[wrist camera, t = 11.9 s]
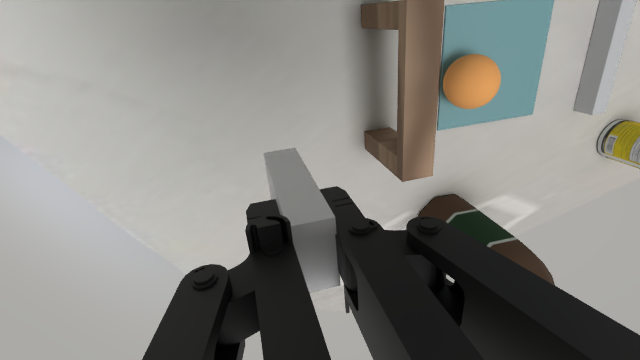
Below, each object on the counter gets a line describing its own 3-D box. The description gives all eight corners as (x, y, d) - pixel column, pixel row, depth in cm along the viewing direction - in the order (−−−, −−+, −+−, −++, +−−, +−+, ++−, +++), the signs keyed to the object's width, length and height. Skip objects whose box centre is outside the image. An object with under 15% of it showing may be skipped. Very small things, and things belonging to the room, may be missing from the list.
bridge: (364, 148, 39) (402, 181, 31) (361, 5, 33) (406, -1, 25) (389, 144, 40) (432, 175, 32) (390, 2, 33) (444, -4, 25)
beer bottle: (430, 186, 44) (626, 341, 22) (476, 198, 46) (690, 346, 25) (405, 238, 46) (561, 421, 25) (450, 246, 49) (625, 418, 28)
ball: (515, 56, 32) (495, 51, 37) (453, 57, 33) (442, 51, 38) (502, 115, 34) (485, 102, 39) (445, 114, 35) (435, 102, 40)
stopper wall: (603, -14, 38) (626, -17, 36) (617, -16, 39) (641, -18, 36) (573, 110, 44) (592, 115, 42) (586, 108, 45) (605, 112, 43)
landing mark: (445, 5, 35) (446, 5, 35) (553, -5, 37) (555, -5, 37) (437, 129, 40) (438, 130, 40) (531, 113, 43) (532, 114, 43)
